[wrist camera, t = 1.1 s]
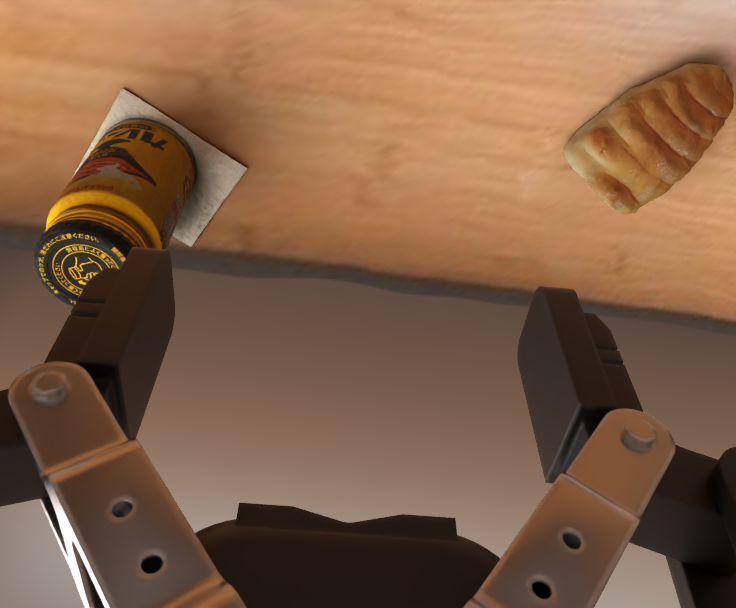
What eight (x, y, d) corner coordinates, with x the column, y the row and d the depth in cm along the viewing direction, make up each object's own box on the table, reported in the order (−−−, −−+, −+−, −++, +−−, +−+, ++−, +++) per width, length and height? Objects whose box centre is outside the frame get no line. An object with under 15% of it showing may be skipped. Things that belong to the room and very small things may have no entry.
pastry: (681, 25, 38) (708, 49, 35) (750, 101, 41) (779, 129, 38) (550, 147, 43) (564, 177, 40) (619, 208, 45) (637, 240, 42)
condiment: (122, 86, 40) (46, 188, 31) (247, 167, 44) (212, 281, 34) (73, 176, 44) (-9, 290, 35) (192, 244, 47) (146, 366, 38)
